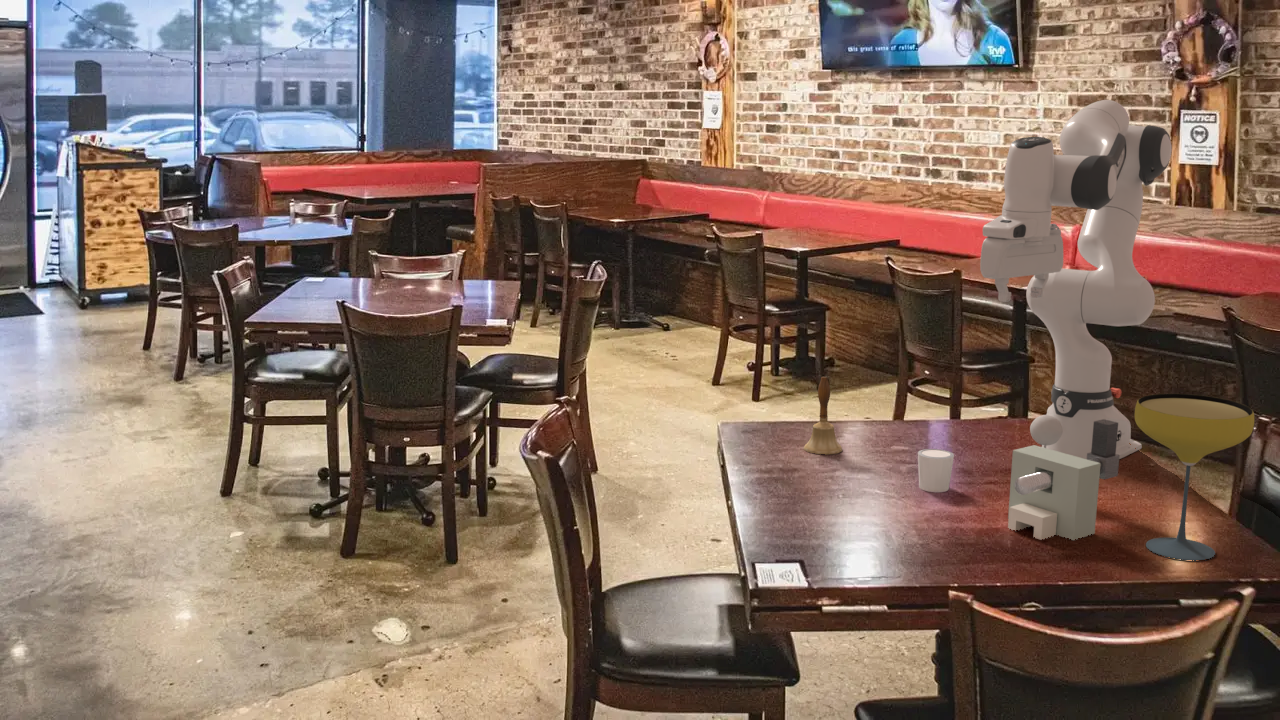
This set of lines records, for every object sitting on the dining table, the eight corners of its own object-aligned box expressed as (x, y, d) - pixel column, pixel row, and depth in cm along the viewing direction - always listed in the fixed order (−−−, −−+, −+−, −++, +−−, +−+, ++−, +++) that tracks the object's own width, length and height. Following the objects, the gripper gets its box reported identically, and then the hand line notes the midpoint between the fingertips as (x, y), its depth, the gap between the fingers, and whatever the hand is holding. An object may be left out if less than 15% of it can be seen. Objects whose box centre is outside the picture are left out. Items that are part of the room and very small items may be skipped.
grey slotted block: (1029, 512, 232) (1034, 445, 229) (1094, 533, 221) (1100, 463, 218) (1008, 518, 229) (1012, 450, 226) (1073, 540, 218) (1079, 468, 215)
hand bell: (802, 453, 269) (805, 380, 266) (804, 443, 277) (806, 372, 274) (842, 455, 268) (845, 382, 264) (842, 445, 276) (845, 373, 272)
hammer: (1098, 470, 234) (1103, 418, 232) (1117, 475, 231) (1122, 422, 229) (1011, 494, 220) (1015, 438, 218) (1030, 500, 217) (1034, 443, 215)
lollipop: (1018, 487, 247) (1024, 412, 244) (1043, 484, 249) (1048, 410, 246) (1040, 496, 241) (1046, 420, 238) (1064, 493, 243) (1070, 417, 240)
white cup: (952, 494, 242) (954, 459, 241) (916, 492, 244) (917, 456, 242) (951, 483, 249) (953, 449, 248) (915, 481, 250) (917, 447, 249)
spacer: (1022, 524, 226) (1024, 503, 225) (1055, 535, 220) (1057, 513, 219) (1007, 528, 224) (1009, 507, 223) (1041, 540, 218) (1042, 517, 217)
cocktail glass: (1257, 570, 204) (1275, 420, 199) (1144, 568, 205) (1158, 418, 200) (1213, 532, 222) (1227, 394, 217) (1108, 530, 223) (1120, 392, 218)
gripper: (1046, 221, 245) (1041, 292, 248) (976, 227, 233) (972, 301, 236) (1074, 224, 240) (1069, 296, 243) (1004, 230, 228) (999, 306, 231)
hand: (1020, 299), depth 239 cm, fingers open, 8 cm apart
